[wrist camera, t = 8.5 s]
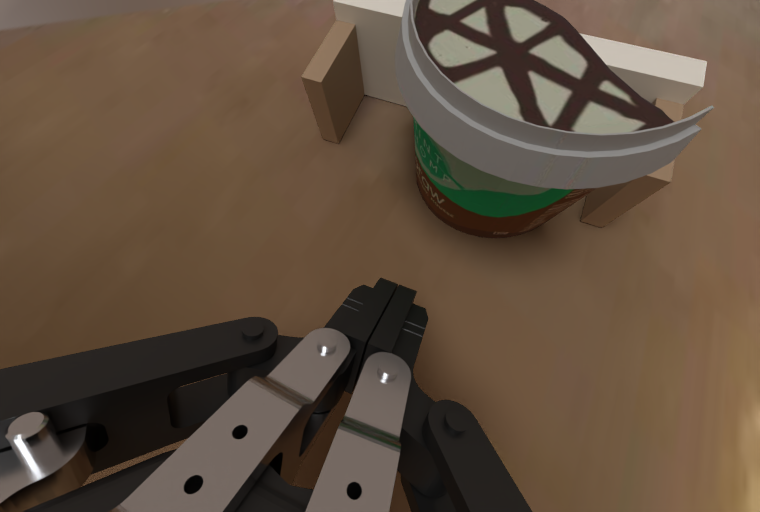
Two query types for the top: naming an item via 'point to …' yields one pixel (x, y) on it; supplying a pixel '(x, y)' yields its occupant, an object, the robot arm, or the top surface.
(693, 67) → the back stop bracket
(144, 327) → the top surface
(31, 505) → the robot arm
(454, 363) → the top surface
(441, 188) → the food container
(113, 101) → the top surface
